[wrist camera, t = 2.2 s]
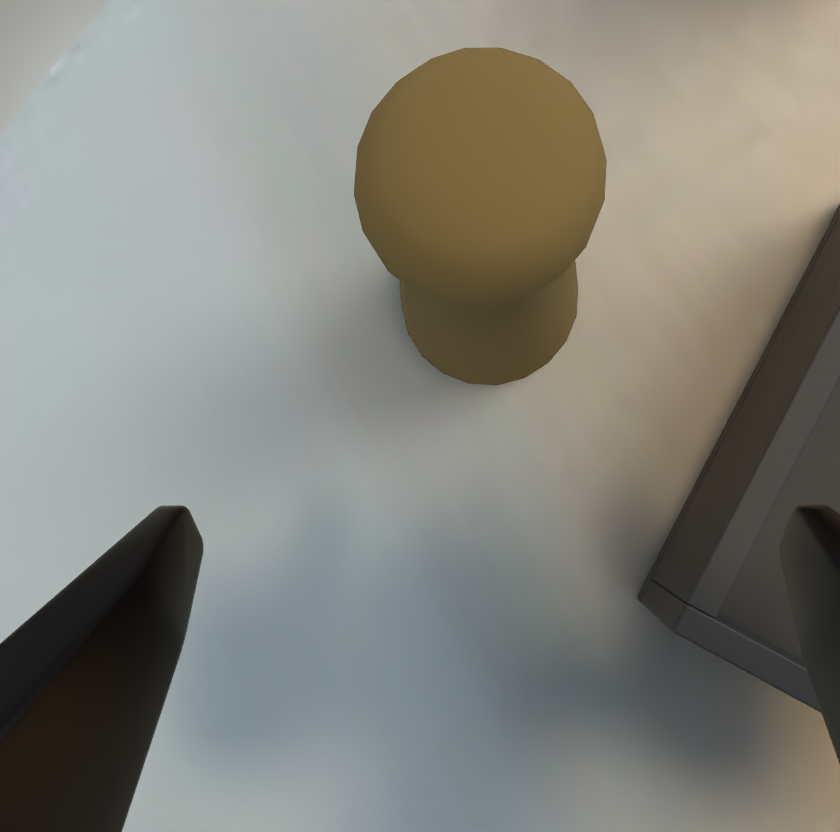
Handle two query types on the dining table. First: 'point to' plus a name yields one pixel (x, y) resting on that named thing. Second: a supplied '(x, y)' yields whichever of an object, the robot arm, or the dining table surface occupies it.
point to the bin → (761, 494)
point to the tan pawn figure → (482, 207)
